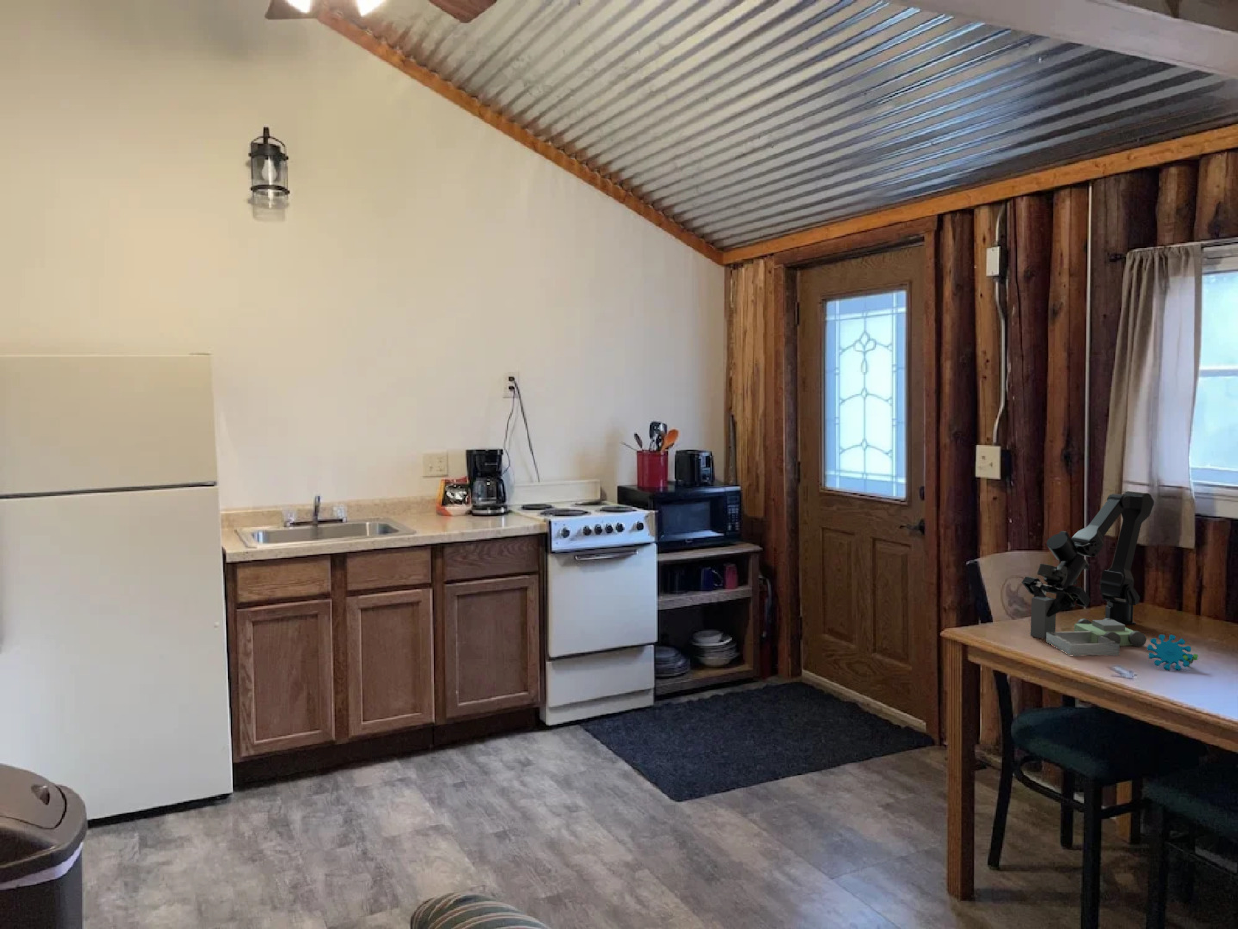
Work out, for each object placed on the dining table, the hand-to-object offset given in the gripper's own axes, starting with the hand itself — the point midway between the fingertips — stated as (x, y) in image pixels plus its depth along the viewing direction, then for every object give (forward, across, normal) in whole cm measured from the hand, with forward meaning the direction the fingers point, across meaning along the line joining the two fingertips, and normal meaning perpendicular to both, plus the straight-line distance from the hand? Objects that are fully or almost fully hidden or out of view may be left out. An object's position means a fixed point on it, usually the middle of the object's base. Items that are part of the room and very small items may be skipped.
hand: (1040, 614), depth 264 cm
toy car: (-5, +10, +15) cm, 19 cm away
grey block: (+4, 0, +6) cm, 7 cm away
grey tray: (+4, +13, +5) cm, 15 cm away
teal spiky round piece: (+1, +35, +9) cm, 36 cm away
